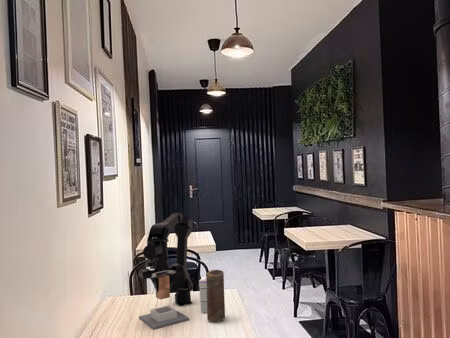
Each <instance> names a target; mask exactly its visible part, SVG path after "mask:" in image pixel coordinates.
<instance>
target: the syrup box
mask: <svg viewBox="0 0 450 338" xmlns="http://www.w3.org/2000/svg"><path fill="white" fill-rule="evenodd" d="M198 285H199V299H200V300H199V301H200V313H202V314H207V277H206V276H202V277H201V278H200V279H199V280H198Z"/></svg>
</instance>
